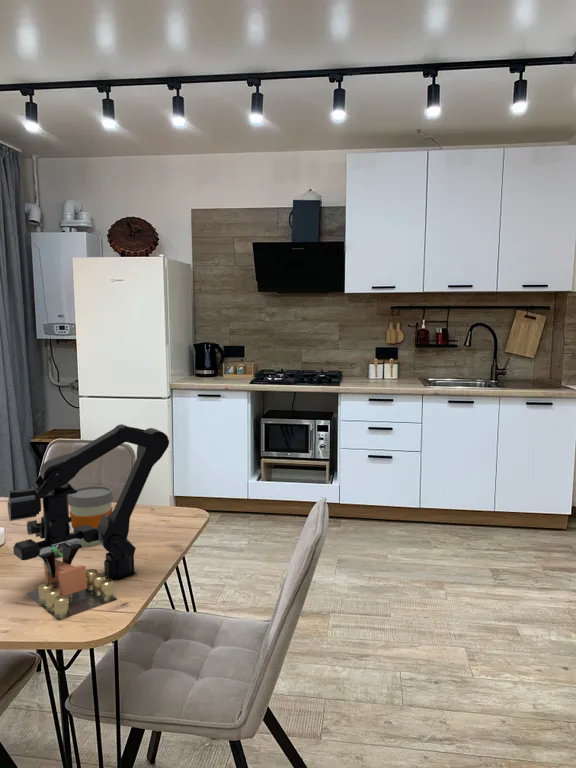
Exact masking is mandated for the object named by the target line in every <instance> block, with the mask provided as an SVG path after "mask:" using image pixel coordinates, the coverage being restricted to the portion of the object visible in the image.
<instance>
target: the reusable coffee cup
mask: <svg viewBox="0 0 576 768" xmlns="http://www.w3.org/2000/svg"><path fill="white" fill-rule="evenodd" d="M75 489H76V490H77V493H75V494H68V503H69V509H70V510H69V517H71V521H72V522H70V523H71V528H72V530H74V528H76V527H80V526H83V525H89V526H91V527H93V528H95V529H96V528H97V527H98V525H99V524H100V521H101V518H102V515H106V516H107V517H108V516H109V515H110V514H111V513H112V512H113V507H112V504H113V503H112V502H113V500H114V497H113V489H112V488H111V487H108V486H103V485H102V486H99V485H97V486H96V485H94V486H84V487H80V488H75ZM79 544H80V545H82V547H84V548H85V547H96V546H99V545H101V543H100V542H99V541H98V540H97V541H93V542H90V543H87V542H86V541H84V538H83V539H79Z"/></svg>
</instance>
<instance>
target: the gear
mask: <svg viewBox="0 0 576 768" xmlns="http://www.w3.org/2000/svg"><path fill="white" fill-rule="evenodd" d="M69 527H70V530H71V528H72V525H69ZM61 549H62V546H61V545H57V546H53V547H51V552H53V553H54V554H55V556H56V555H58V556H59V557H61V558H63V552H60V551H61Z"/></svg>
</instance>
